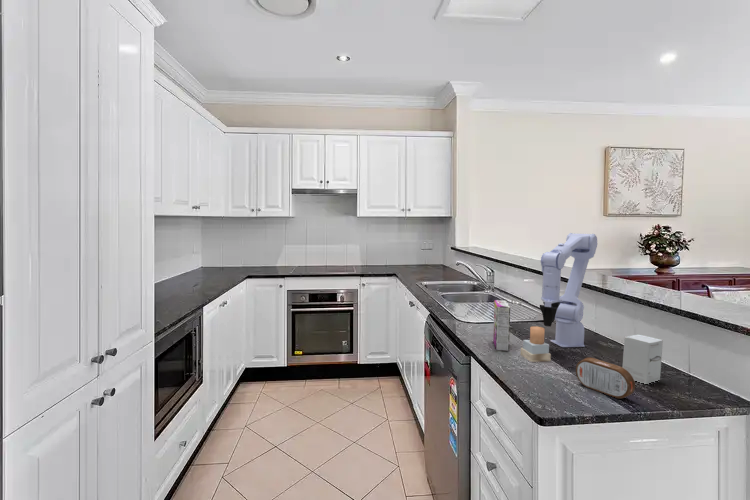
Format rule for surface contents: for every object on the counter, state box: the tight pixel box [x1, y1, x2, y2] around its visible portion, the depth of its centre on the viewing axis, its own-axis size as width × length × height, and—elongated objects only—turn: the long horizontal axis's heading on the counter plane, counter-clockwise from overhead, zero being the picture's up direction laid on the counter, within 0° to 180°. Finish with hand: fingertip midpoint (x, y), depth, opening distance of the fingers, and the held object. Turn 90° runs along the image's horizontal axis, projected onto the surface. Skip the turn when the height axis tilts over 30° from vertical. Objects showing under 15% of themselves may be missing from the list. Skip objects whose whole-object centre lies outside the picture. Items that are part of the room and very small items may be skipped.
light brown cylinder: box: [529, 326, 546, 344], centre depth 137 cm, size 4×4×5 cm
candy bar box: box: [492, 299, 511, 352], centre depth 149 cm, size 11×5×16 cm, turn 168°
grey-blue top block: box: [522, 339, 550, 354], centre depth 137 cm, size 6×6×3 cm
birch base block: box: [520, 347, 552, 363], centre depth 137 cm, size 7×7×3 cm
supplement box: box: [621, 333, 664, 385], centre depth 120 cm, size 7×7×13 cm
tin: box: [575, 357, 636, 399], centre depth 110 cm, size 15×3×8 cm, turn 33°
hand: (549, 323), depth 143 cm, fingers open, 7 cm apart
